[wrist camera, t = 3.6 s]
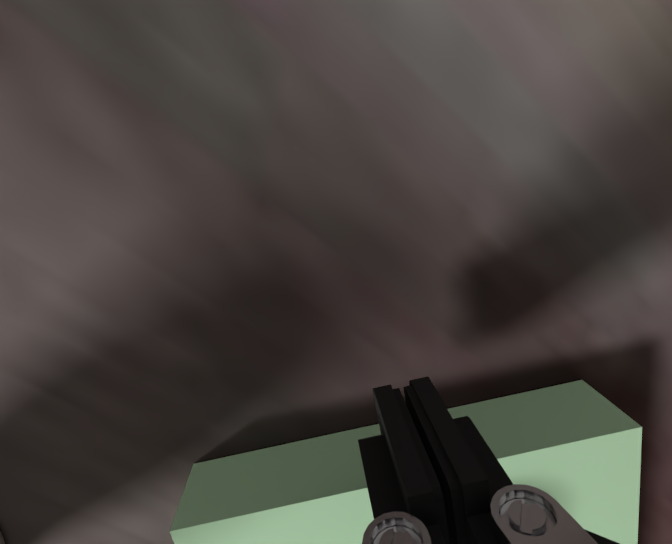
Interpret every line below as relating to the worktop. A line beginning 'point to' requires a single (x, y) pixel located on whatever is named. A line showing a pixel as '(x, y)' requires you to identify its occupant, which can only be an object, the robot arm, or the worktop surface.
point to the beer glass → (1, 538)
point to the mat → (351, 488)
